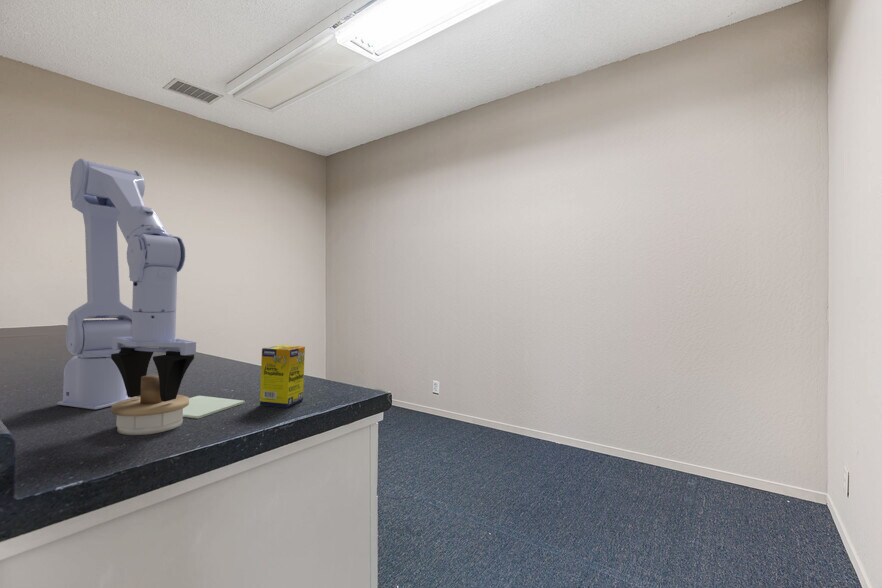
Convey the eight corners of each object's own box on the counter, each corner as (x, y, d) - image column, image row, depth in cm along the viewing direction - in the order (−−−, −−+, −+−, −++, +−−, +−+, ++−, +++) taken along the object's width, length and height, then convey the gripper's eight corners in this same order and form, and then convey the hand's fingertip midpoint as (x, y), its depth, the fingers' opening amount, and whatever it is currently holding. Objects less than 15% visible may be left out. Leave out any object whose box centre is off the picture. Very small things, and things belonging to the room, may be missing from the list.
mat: (146, 411, 73) (147, 409, 73) (198, 397, 84) (198, 395, 84) (198, 418, 70) (198, 416, 70) (244, 402, 81) (245, 400, 81)
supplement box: (287, 408, 78) (289, 349, 78) (258, 405, 79) (260, 347, 79) (304, 400, 84) (305, 346, 84) (277, 398, 85) (278, 344, 85)
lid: (94, 412, 62) (95, 379, 62) (156, 396, 72) (156, 368, 72) (146, 419, 60) (147, 385, 60) (203, 402, 69) (204, 373, 69)
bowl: (103, 431, 63) (104, 411, 63) (154, 416, 71) (155, 398, 71) (147, 437, 61) (147, 417, 61) (195, 421, 69) (195, 403, 69)
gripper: (93, 310, 64) (90, 399, 64) (168, 314, 60) (165, 409, 60) (137, 309, 71) (135, 389, 71) (207, 312, 67) (205, 397, 67)
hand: (152, 398), depth 66 cm, fingers open, 6 cm apart
